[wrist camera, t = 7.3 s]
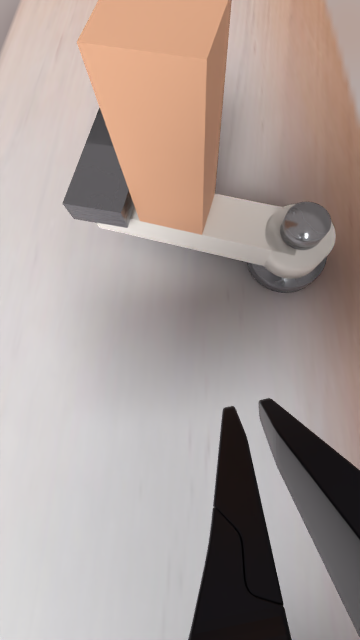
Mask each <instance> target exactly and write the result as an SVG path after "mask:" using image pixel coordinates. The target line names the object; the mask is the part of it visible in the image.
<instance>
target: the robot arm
mask: <svg viewBox="0 0 360 640" xmlns="http://www.w3.org/2000/svg"><path fill="white" fill-rule="evenodd" d="M259 416H260V421H261V424H262V426H263V429H264V432H265V435H266V438H267V440H268V443H269V446H270V449H271V452H272V454H273V457H274V460H275V462H276V465H277V467H278V469H279V472H280V474H281V476H282V478H283V480H284V482H285V484H286V486H287V488H288V490H289V492H290V494H291V496H292V499H293V501H294V503H295V505H296V507H297V509H298V511H299V513H300V515H301V517H302V519H303V521H304V523H305V525H306V527H307V530H308V532H309V534H310V536H311V538H312V540H313V542H314V544H315V546H316V548H317V550H318V552H319V554H320V556H321V558H322V561H323V563H324V565H325V567H326V569H327V571H328V573H329V575H330V577H331V579H332V581H333V583H334V585H335V587H336V589H337V592H338V594H339V596H340V598H341V600H342V602H343V604H344V606H345V608H346V610H347V612H348V614H349V616H350V618H351V620H352V623H353V625H354V627H355V629H356V631H357V633H358V635H359V637H360V470H359V469H357V468H356V467H355V466H354V465H353V464H351V463H350V462H349V461H348V460H346V459H345V458H344V457H343V456H341V455H340V454H339V453H338V452H336V451H335V450H334V449H333V448H331V447H330V446H329V445H328V444H327V443H325V442H324V441H323V440H322V439H320V438H319V437H318V436H317V435H315V434H314V433H313V432H312V431H310V430H309V429H308V428H307V427H305V426H304V425H303V424H302V423H301V422H299V421H298V420H297V419H296V418H294V417H293V416H292V415H291V414H289V413H288V412H287V411H286V410H284V409H283V408H282V407H281V406H280V405H278V404H277V403H276V402H275V401H273V400H272V399H270V398H267V399H263V400H260V401H259ZM213 506H214V508H213V512H212V522H211V530H210V538H209V545H208V550H207V555H206V561H205V566H204V571H203V576H202V580H201V585H200V589H199V594H198V599H197V603H196V608H195V613H194V617H193V622H192V626H191V631H190V635H189V639H188V640H292V639H291V635H290V631H289V627H288V622H287V618H286V613H285V609H284V607H283V600H282V595H281V591H280V586H279V581H278V577H277V572H276V568H275V563H274V559H273V554H272V549H271V545H270V540H269V536H268V531H267V527H266V522H265V517H264V513H263V508H262V504H261V499H260V495H259V490H258V485H257V481H256V476H255V472H254V467H253V463H252V458H251V453H250V449H249V444H248V440H247V437H246V434H245V431H244V429H243V426H242V424H241V421H240V419H239V416H238V414H237V411H236V409H235V407H234V406H231V407H226V408H224V409H223V413H222V423H221V433H220V443H219V454H218V464H217V474H216V484H215V494H214V504H213Z"/></svg>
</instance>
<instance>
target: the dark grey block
mask: <svg viewBox="0 0 360 640" xmlns="http://www.w3.org/2000/svg"><path fill="white" fill-rule="evenodd" d="M63 205H64V206H65V207H66V209H67V210H68V212H69V213H70V214H71V216H72V217H73V218H74V219H78V220H84V221H90V222H96V223H101V224H107V225H113V226H119V227H125V228H128V226H129V222H130V219H131V216H132V213H133V210H134V203H133V200H132V198H131V195H130V192H129V189H128V186H127V183H126V181H125V178H124V175H123V172H122V169H121V166H120V163H119V161H118V158H117V155H116V152H115V149H114V146H113V144H112V141H111V138H110V135H109V132H108V129H107V126H106V124H105V121H104V118H103V115H102V112H101V109H100V108H99V110H98V113H97V115H96V118H95V121H94V123H93V126H92V128H91V131H90V134H89V136H88V139H87V141H86V144H85V147H84V149H83V152H82V154H81V157H80V160H79V162H78V165H77V167H76V170H75V173H74V175H73V178H72V180H71V183H70V186H69V188H68V191H67V193H66V196H65V198H64V201H63Z"/></svg>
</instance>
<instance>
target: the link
mask: <svg viewBox="0 0 360 640" xmlns="http://www.w3.org/2000/svg"><path fill="white" fill-rule="evenodd" d="M231 1H232V0H98V2H97V4H96V6H95V8H94V10H93V12H92V14H91V16H90V18H89V20H88V22H87V23H86V25H85V27H84V29H83V31H82V33H81V35H80V37H79V39H78V41H77V44H78V47H79V50H80V52H81V55H82V58H83V61H84V64H85V67H86V70H87V72H88V75H89V78H90V81H91V84H92V87H93V89H94V92H95V95H96V98H97V101H98V104H99V107H100V109H101V112H102V115H103V118H104V121H105V124H106V126H107V129H108V132H109V135H110V138H111V141H112V144H113V146H114V149H115V152H116V155H117V158H118V161H119V163H120V166H121V169H122V172H123V175H124V178H125V181H126V183H127V186H128V189H129V192H130V195H131V198H132V200H133V203H134V210H133V213H132V216H131V219H130V222H129V226H128V228H125V227H119V226H113V225H107V224H101V223H97V224H98V226H99V228H103V229H107V230H112V231H116V232H120V233H124V234H129V235H133V236H137V237H142V238H146V239H150V240H154V241H159V242H163V243H167V244H172V245H176V246H180V247H184V248H189V249H193V250H197V251H202V252H206V253H210V254H215V255H219V256H223V257H227V258H232V259H236V260H240V261H245V262H249V263H253V264H257V265H262V266H264V267H265V268H266V269H267V270H268V271H269V272H271V273H272V274H274V275H276V276H279V277H282V278H288V279H293V278H300V277H303V276H305V275H307V274H309V273H310V272H311V271H312V270H313V269H314V268H315V267H316V266H317V265H318V264H319V263H320V262H321V261H322V260H323V259H324V258H325V257H326V256H327V255H328V254H329V253H330V252H331V250H332V249H333V246H334V244H335V238H336V235H335V229H334V226H333V224H332V222H331V227H330V230H329V232H328V233H327V234H326V235H325V237H324V238H323V239H322V240H321V241H320V242H319V244H318V245H317V246H315V247H313V248H311V249H308V250H297V249H294V248H292V247H290V246H288V245H287V244H286V243H285V242H284V241H283V239H282V237H281V235H280V226H281V224H282V222H283V220H284V218H285V216H286V214H287V212H288V210H289V209H290V208H291V207H292V206H294V205H295V204H291V205H287V206H284V207H279V206H274V205H269V204H264V203H259V202H254V201H250V200H245V199H240V198H235V197H230V196H225V195H220V194H215V186H216V174H217V163H218V151H219V140H220V128H221V117H222V105H223V93H224V82H225V70H226V59H227V47H228V36H229V24H230V12H231Z"/></svg>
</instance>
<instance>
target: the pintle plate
mask: <svg viewBox="0 0 360 640" xmlns="http://www.w3.org/2000/svg"><path fill="white" fill-rule="evenodd" d="M330 227H331V218H330V215H329V213H328V212H327V210H326V209H325V208H323V207H322V206H321V205H319V204H316V203H313V202H300V203H297V204H295V205H294V206H292V207H291V208H290V209H289V210H288V212H287V214H286V216H285V218H284V220H283V222H282V224H281V226H280V235H281V237H282V239H283V241H284V242H285V243H286V244H287V245H288V246H290V247H292V248H294V249H297V250H308V249H311V248H313V247H315V246H317V245H318V244H319V242H320V241H321V240H322V239H323V238H324V237H325V235H326V234H327V233H328V232H329V230H330ZM326 258H327V256H326V257H325V258H324V259H323V260H322V261H321V262H320V263H319V264H318V265H317V266H316V267H315V268H314V269H313V270H312V271H311V272H310V273H309V274H307V275H305V276H303V277H300V278H293V279H288V278H282V277H279V276H276V275H274V274H272V273H271V272H269V271H268V270H267V269H266V268H265V267H264V266H262V265H257V264H253V263H249V262H247V264H248V268H249V270H250V272H251V274H252V276H253V277H254V278H255V280H256V281H258V282H259V283H260V284H261V285H262V286H264V287H266V288H268V289H270V290H273V291H277V292H294V291H298V290H301V289H303V288H305V287H306V286H308V285H309V284H310V283H311V282H312V281H313V280H314V279H316V278H317V277H318V276H319V274H320V273H321V272H322V270H323V269H324V266H325V263H326Z"/></svg>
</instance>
